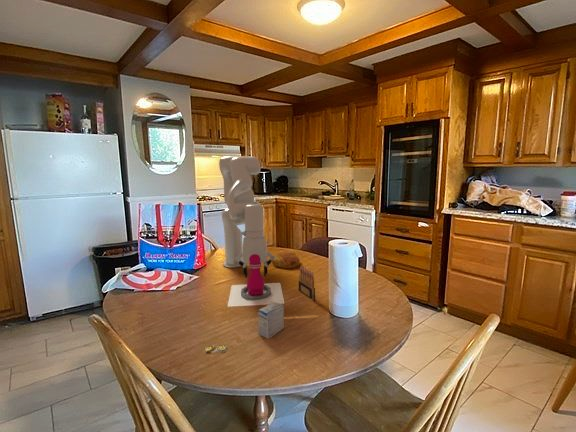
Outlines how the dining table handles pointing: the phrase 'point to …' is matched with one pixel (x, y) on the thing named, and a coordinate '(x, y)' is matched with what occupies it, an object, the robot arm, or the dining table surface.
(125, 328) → the dining table surface
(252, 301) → the seat board
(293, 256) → the brown rounded lump
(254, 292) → the pepper mill
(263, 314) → the medicine box
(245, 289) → the ring collar
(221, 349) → the bearing assembly
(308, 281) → the ammunition clip
